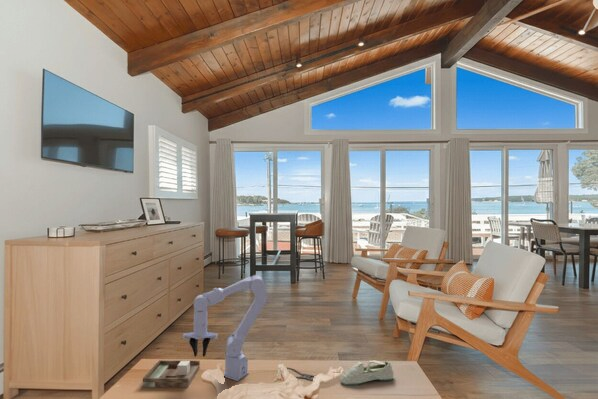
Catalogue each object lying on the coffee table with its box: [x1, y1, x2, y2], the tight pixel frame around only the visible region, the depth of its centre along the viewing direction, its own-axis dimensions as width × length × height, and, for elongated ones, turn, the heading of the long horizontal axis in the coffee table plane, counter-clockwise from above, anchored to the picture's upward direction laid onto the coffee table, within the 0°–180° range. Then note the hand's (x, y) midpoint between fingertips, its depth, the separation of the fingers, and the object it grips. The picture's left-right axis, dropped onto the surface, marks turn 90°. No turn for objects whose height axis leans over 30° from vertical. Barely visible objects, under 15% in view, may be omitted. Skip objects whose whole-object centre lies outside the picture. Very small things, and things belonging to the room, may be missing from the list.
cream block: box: [177, 360, 191, 375], centre depth 142 cm, size 4×4×4 cm
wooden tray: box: [142, 359, 201, 388], centre depth 142 cm, size 18×16×4 cm
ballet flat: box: [340, 360, 395, 386], centre depth 142 cm, size 9×24×8 cm, turn 103°
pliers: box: [287, 367, 315, 382], centre depth 146 cm, size 10×1×20 cm
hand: (200, 355), depth 142 cm, fingers open, 3 cm apart
